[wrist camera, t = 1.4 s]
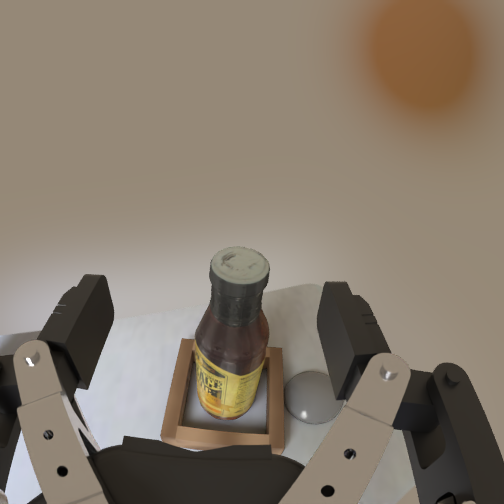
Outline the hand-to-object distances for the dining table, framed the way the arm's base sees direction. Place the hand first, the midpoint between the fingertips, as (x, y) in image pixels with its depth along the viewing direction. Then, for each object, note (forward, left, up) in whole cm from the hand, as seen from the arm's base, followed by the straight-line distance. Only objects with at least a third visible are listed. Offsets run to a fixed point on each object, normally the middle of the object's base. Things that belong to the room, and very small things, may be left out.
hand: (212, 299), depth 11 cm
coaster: (+11, +10, -25) cm, 29 cm away
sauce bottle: (+1, +9, -25) cm, 27 cm away
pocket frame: (+1, +9, -25) cm, 27 cm away
